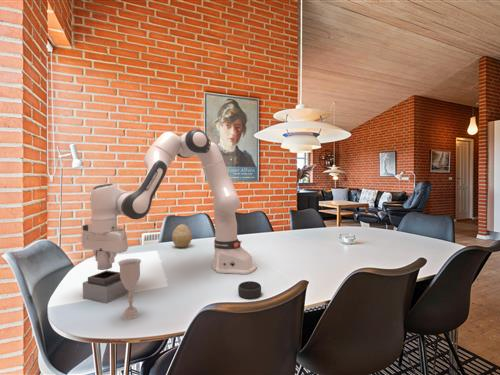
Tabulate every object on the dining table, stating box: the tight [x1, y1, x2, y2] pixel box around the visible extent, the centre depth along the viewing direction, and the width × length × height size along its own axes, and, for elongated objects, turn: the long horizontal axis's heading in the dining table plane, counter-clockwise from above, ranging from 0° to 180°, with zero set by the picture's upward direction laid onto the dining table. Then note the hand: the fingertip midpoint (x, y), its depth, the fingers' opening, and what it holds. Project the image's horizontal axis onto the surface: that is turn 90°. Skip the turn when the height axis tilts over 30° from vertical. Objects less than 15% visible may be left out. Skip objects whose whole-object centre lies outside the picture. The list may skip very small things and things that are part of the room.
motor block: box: [82, 269, 129, 304], centre depth 110 cm, size 16×10×8 cm, turn 69°
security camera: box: [96, 248, 113, 271], centre depth 108 cm, size 5×5×8 cm
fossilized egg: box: [171, 223, 193, 248], centre depth 183 cm, size 13×13×15 cm
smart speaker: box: [237, 280, 262, 300], centre depth 109 cm, size 9×9×4 cm
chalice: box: [117, 258, 142, 320], centre depth 93 cm, size 7×7×18 cm
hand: (104, 261), depth 109 cm, fingers closed on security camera, 5 cm apart
